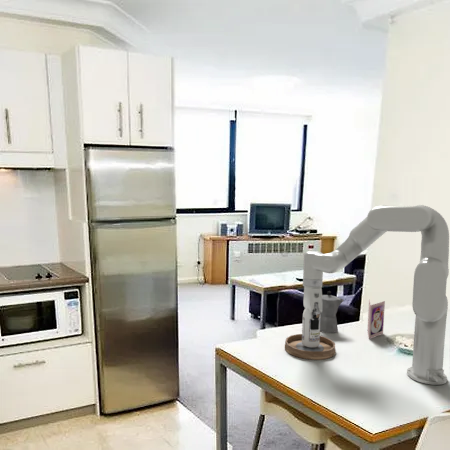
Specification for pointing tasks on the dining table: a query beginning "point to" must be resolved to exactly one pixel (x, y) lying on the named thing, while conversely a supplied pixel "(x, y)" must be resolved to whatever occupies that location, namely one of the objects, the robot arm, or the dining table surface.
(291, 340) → the round tray
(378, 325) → the greeting card
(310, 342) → the bath foam
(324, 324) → the coffeepot
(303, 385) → the dining table surface
